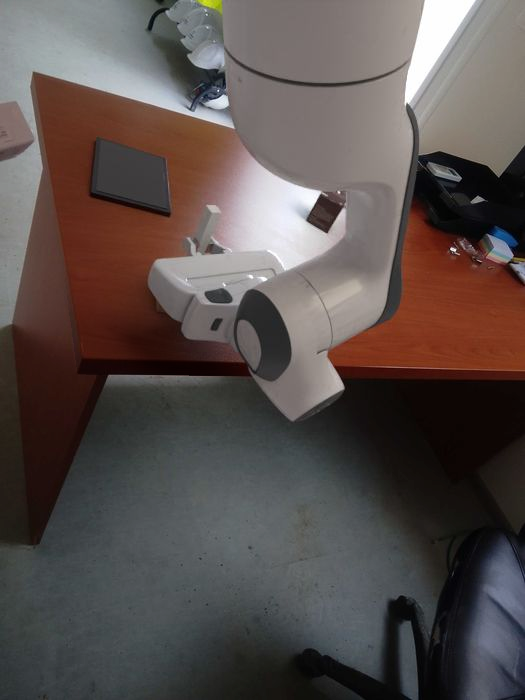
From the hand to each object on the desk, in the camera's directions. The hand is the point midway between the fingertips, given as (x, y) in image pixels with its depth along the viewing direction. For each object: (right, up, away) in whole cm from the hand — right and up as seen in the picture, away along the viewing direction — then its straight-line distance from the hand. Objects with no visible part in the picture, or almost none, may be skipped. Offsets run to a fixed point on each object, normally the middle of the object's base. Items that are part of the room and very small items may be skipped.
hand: (196, 240), depth 64 cm
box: (+23, +15, +45) cm, 53 cm away
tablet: (-16, +18, +24) cm, 34 cm away
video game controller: (+29, +25, +58) cm, 70 cm away
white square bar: (-3, -6, +6) cm, 9 cm away
